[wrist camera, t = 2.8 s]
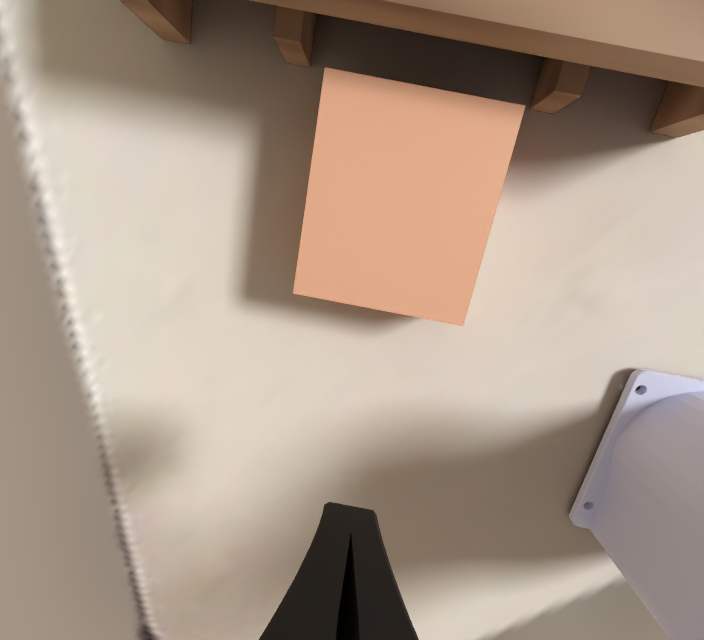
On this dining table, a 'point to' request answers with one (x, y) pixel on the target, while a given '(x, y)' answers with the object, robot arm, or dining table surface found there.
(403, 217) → the cover
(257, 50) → the dining table surface
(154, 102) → the dining table surface
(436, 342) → the dining table surface
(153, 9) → the wooden stand
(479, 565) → the dining table surface
